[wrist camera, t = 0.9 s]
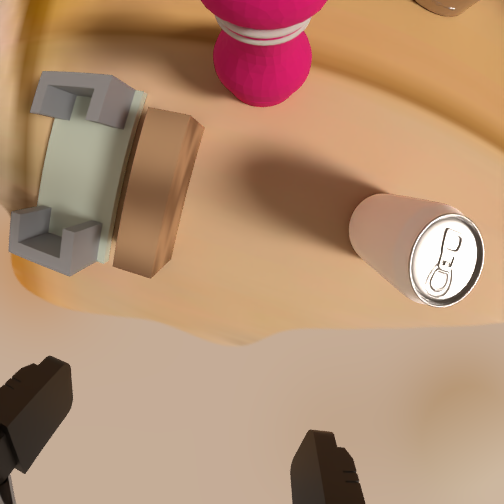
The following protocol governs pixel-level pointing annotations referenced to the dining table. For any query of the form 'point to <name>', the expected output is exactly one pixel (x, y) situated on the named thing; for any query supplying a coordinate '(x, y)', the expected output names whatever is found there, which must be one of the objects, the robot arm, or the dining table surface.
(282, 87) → the pepper mill
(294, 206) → the dining table surface
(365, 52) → the dining table surface
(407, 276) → the can
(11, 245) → the holder
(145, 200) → the slat
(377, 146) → the dining table surface
